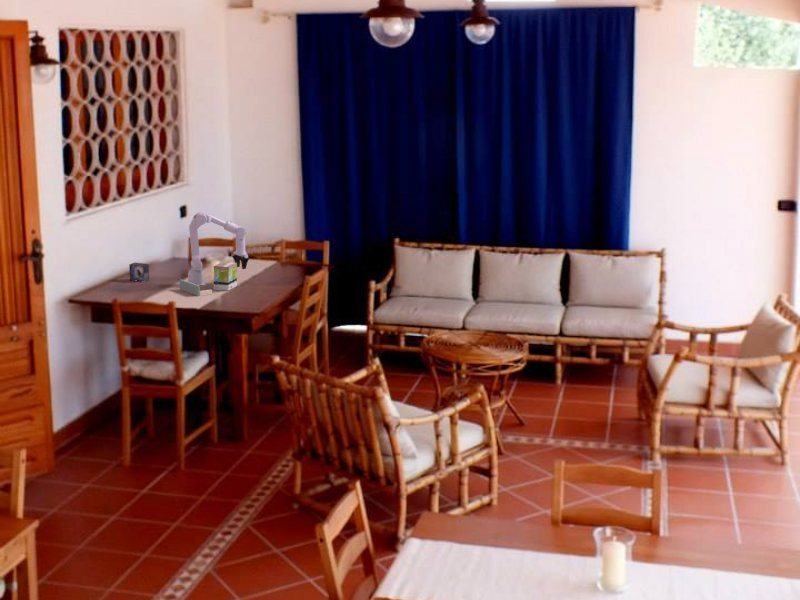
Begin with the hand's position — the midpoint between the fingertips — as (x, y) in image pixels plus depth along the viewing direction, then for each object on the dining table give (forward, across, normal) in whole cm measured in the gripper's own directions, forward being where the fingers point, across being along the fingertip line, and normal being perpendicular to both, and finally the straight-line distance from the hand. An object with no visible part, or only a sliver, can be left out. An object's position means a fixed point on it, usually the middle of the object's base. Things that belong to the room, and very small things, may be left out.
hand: (240, 267), depth 717 cm
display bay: (+9, -8, +35) cm, 38 cm away
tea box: (+10, -8, +15) cm, 20 cm away
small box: (+10, +40, +49) cm, 64 cm away
